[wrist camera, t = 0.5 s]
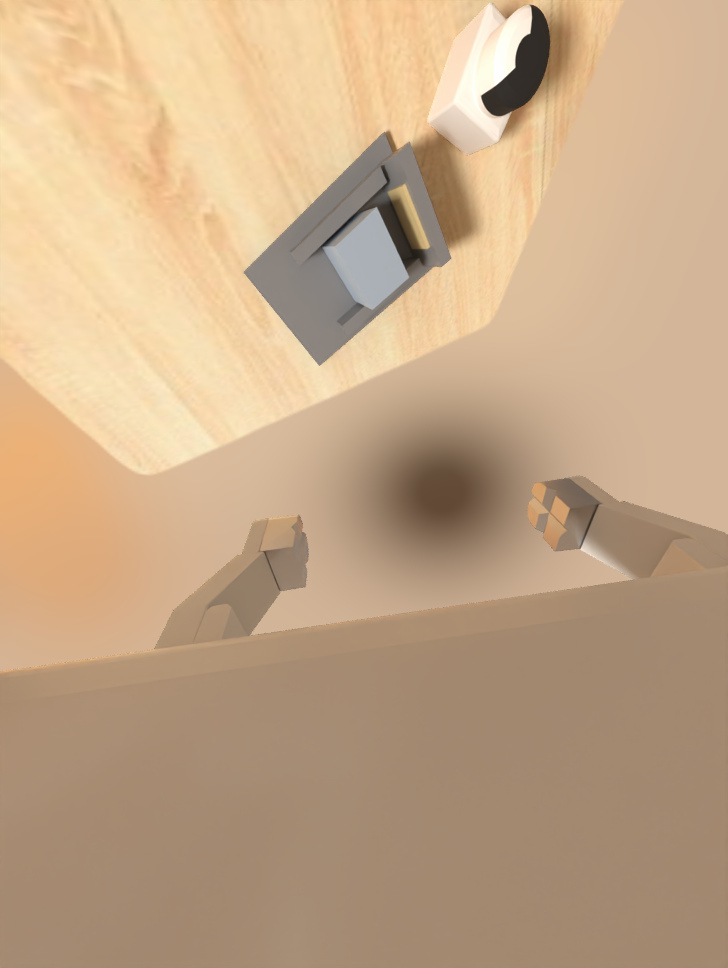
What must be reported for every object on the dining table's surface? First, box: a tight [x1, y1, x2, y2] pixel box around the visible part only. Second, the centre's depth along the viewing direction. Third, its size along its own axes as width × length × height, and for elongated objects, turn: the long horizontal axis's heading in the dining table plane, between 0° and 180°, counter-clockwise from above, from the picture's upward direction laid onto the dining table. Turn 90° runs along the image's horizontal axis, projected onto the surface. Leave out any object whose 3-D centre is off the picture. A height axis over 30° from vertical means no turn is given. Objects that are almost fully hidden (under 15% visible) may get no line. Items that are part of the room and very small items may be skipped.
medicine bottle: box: [427, 2, 550, 156], centre depth 33 cm, size 7×7×12 cm
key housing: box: [244, 132, 451, 366], centre depth 41 cm, size 24×16×9 cm, turn 125°
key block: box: [322, 207, 409, 310], centre depth 40 cm, size 6×8×9 cm
